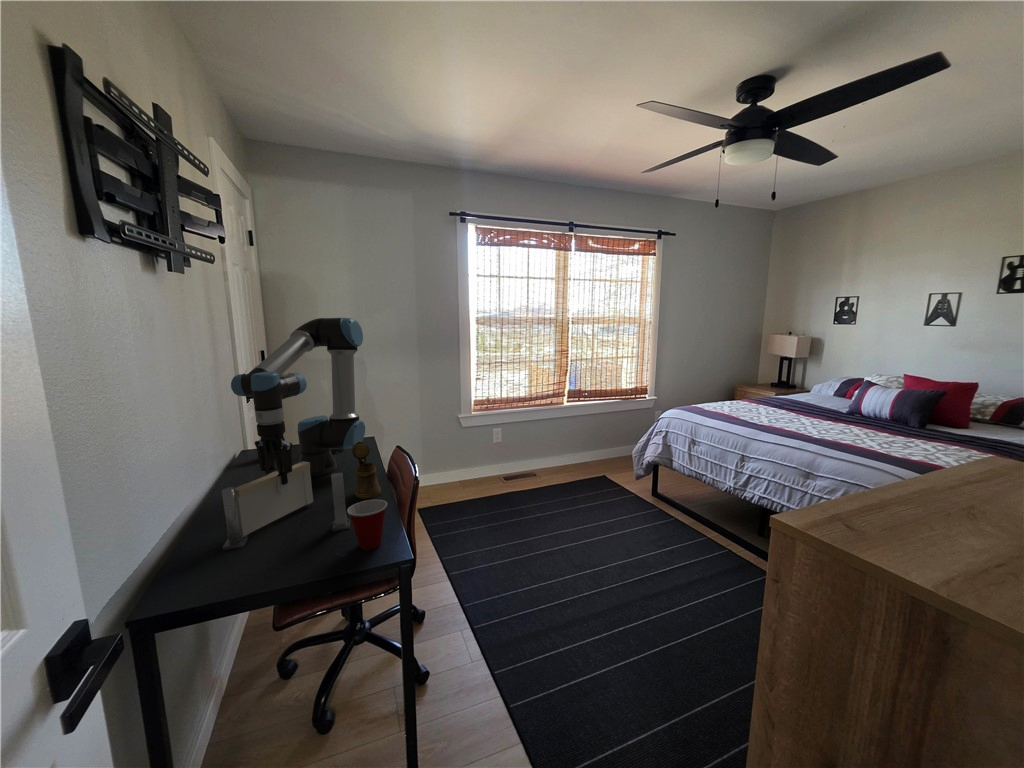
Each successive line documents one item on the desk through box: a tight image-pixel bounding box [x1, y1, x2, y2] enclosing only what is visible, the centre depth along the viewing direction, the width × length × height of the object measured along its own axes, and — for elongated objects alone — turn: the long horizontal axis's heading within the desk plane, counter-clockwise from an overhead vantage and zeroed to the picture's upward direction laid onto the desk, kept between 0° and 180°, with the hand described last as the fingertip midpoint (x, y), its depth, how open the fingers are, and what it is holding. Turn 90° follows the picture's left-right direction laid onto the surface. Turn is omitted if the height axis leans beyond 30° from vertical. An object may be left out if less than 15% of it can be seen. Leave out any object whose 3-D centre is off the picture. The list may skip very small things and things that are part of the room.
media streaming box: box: [331, 448, 345, 454], centre depth 199 cm, size 15×15×3 cm
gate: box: [234, 461, 314, 536], centre depth 128 cm, size 3×24×14 cm, turn 157°
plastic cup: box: [346, 499, 388, 551], centre depth 115 cm, size 11×11×12 cm
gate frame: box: [221, 472, 351, 551], centre depth 120 cm, size 5×34×17 cm, turn 110°
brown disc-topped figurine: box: [351, 441, 382, 500], centre depth 149 cm, size 9×14×18 cm, turn 33°
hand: (279, 492), depth 129 cm, fingers closed on gate, 3 cm apart
